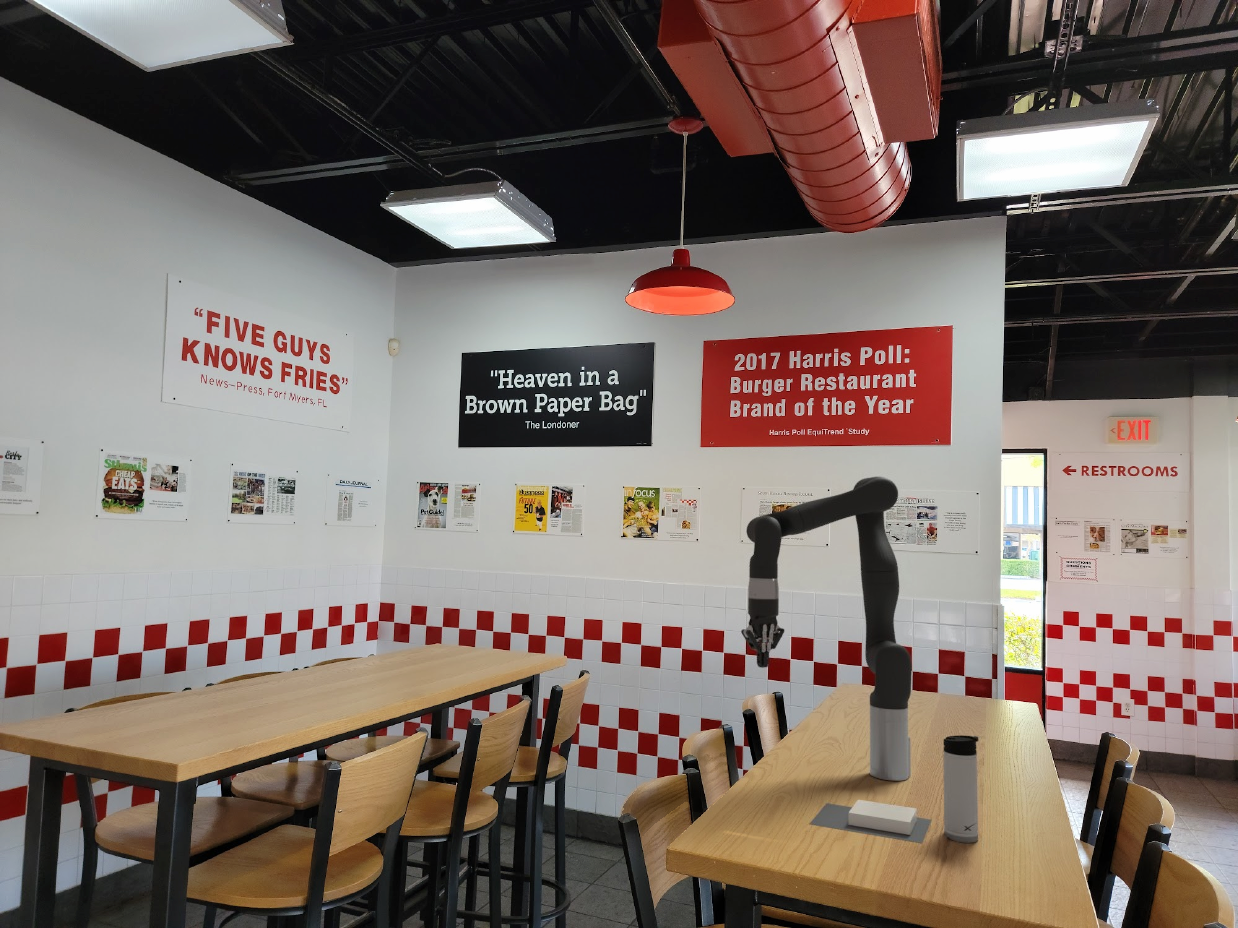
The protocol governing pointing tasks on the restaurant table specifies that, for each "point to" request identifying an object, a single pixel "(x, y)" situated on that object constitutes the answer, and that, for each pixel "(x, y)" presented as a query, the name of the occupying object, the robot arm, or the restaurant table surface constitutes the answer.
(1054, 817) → the restaurant table surface
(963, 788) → the travel mug
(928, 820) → the mat
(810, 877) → the restaurant table surface
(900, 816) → the tile
